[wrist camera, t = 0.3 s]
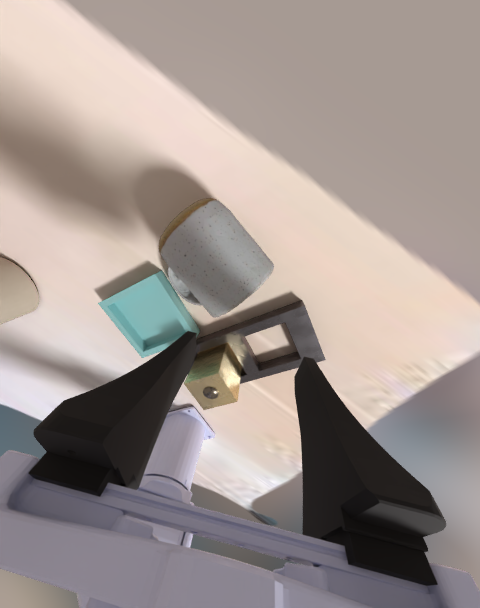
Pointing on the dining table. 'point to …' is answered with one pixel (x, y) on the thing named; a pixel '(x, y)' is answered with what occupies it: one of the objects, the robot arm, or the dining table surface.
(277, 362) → the grey flat frame
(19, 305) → the travel mug
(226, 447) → the dining table surface
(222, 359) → the block
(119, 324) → the tray
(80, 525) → the robot arm
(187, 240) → the ceramic mug
